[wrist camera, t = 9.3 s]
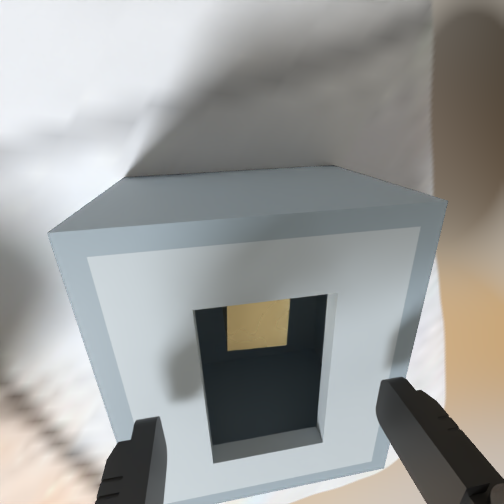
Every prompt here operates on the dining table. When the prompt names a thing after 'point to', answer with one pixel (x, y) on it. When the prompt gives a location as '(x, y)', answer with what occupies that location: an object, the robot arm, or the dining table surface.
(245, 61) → the dining table surface
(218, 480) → the box
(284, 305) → the tan wooden block
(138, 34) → the dining table surface
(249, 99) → the dining table surface
